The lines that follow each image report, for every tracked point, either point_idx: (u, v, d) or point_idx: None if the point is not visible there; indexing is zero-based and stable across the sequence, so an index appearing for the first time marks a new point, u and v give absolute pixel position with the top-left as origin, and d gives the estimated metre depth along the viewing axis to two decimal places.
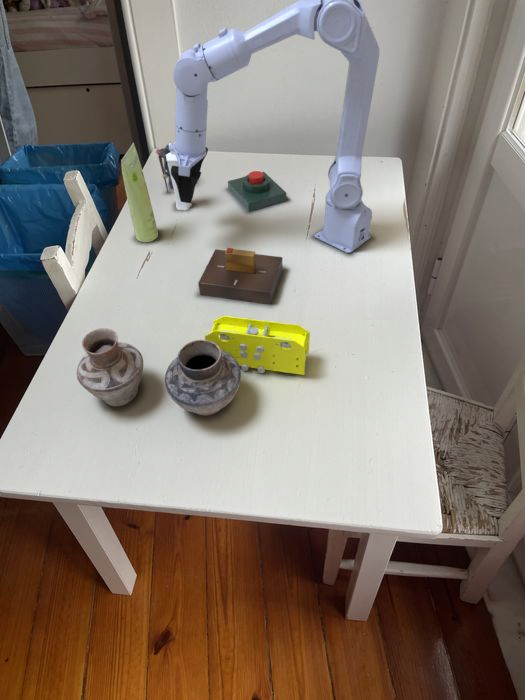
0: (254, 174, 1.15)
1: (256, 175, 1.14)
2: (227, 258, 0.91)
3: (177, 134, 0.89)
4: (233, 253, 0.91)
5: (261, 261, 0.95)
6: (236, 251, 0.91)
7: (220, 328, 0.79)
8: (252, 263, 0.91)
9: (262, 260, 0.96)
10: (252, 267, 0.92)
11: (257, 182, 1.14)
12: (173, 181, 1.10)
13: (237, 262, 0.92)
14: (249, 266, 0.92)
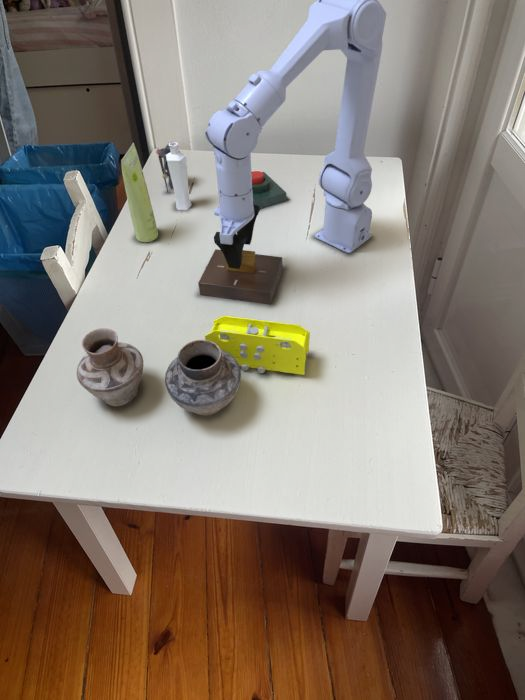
0: (254, 174, 1.15)
1: (256, 175, 1.14)
2: None
3: (220, 199, 0.81)
4: None
5: (261, 261, 0.95)
6: None
7: (220, 328, 0.80)
8: (252, 263, 0.91)
9: (262, 260, 0.96)
10: (252, 267, 0.92)
11: (257, 182, 1.14)
12: (173, 181, 1.10)
13: None
14: (249, 266, 0.92)
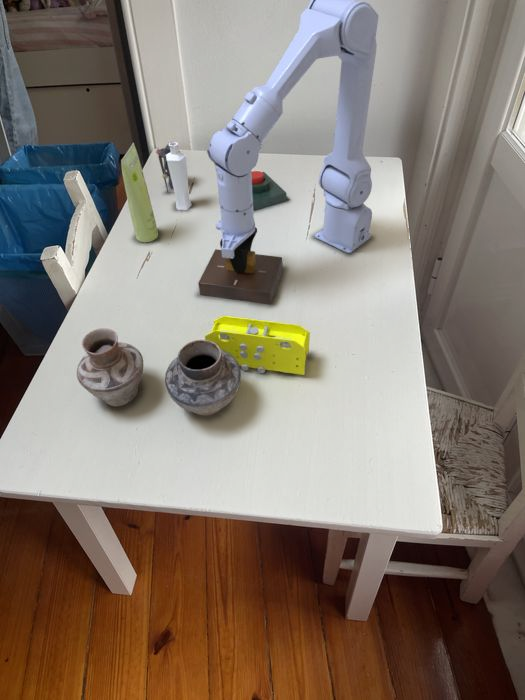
0: (254, 174, 1.15)
1: (256, 175, 1.14)
2: (227, 258, 0.91)
3: (222, 214, 0.83)
4: None
5: (261, 261, 0.95)
6: None
7: (220, 328, 0.80)
8: (252, 263, 0.91)
9: (262, 260, 0.96)
10: (252, 267, 0.92)
11: (257, 182, 1.14)
12: (173, 181, 1.10)
13: None
14: (249, 266, 0.92)
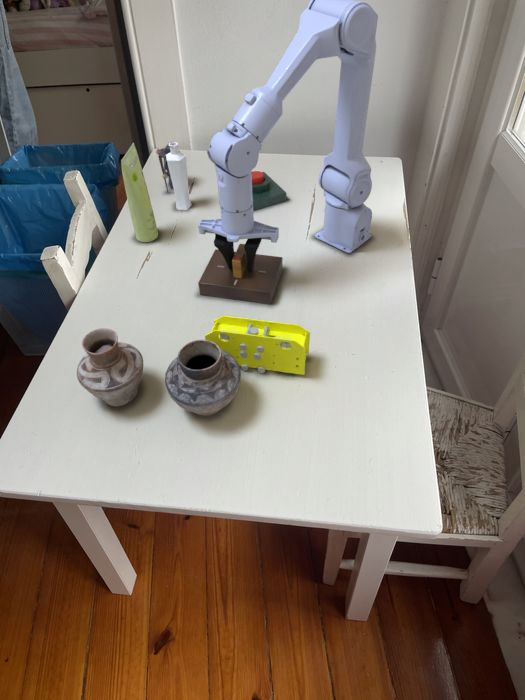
0: (254, 174, 1.15)
1: (256, 175, 1.14)
2: (241, 265, 0.90)
3: (244, 218, 0.83)
4: (241, 256, 0.90)
5: (261, 261, 0.95)
6: (238, 254, 0.90)
7: (220, 328, 0.80)
8: None
9: (262, 260, 0.96)
10: None
11: (257, 182, 1.14)
12: (173, 181, 1.10)
13: (244, 261, 0.92)
14: None
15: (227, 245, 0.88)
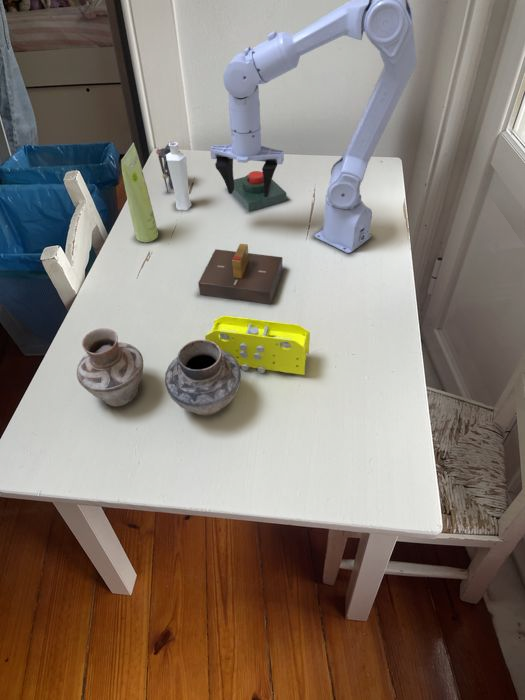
0: (254, 174, 1.15)
1: (256, 175, 1.14)
2: (241, 265, 0.90)
3: (252, 139, 0.91)
4: (241, 256, 0.90)
5: (261, 261, 0.95)
6: (238, 254, 0.90)
7: (220, 328, 0.80)
8: None
9: (262, 260, 0.96)
10: (248, 256, 0.94)
11: (257, 182, 1.14)
12: (173, 181, 1.10)
13: (244, 261, 0.92)
14: (247, 257, 0.94)
15: (227, 168, 0.97)
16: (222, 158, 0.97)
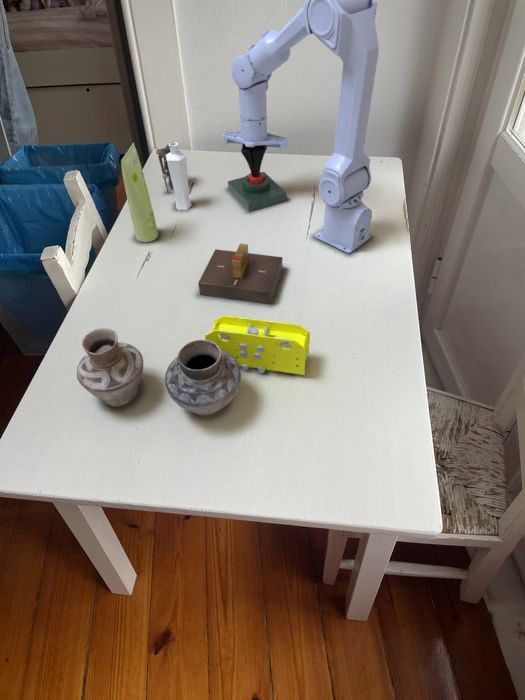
0: None
1: None
2: (241, 265, 0.90)
3: (259, 126, 1.04)
4: (241, 256, 0.90)
5: (261, 261, 0.95)
6: (238, 254, 0.90)
7: (220, 328, 0.80)
8: None
9: (262, 260, 0.96)
10: (248, 256, 0.94)
11: (257, 183, 1.14)
12: (173, 181, 1.10)
13: (244, 261, 0.92)
14: (247, 257, 0.94)
15: (252, 153, 1.09)
16: None
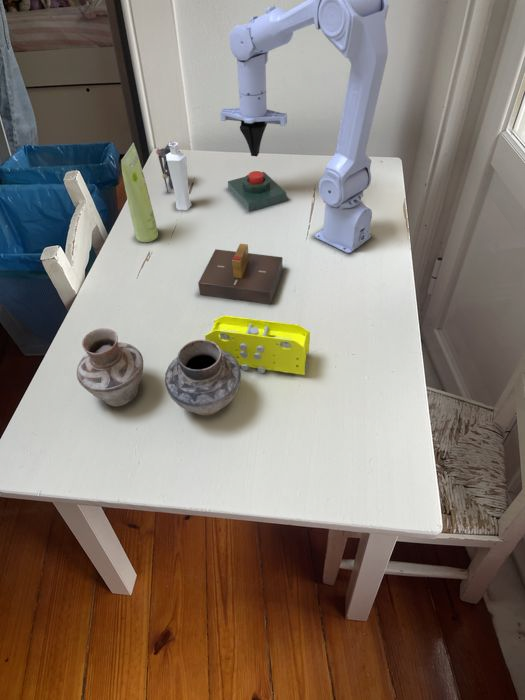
0: (254, 174, 1.15)
1: (256, 175, 1.14)
2: (241, 265, 0.90)
3: (258, 101, 1.00)
4: (241, 256, 0.90)
5: (261, 261, 0.95)
6: (238, 254, 0.90)
7: (220, 328, 0.80)
8: None
9: (262, 260, 0.96)
10: (248, 256, 0.94)
11: (257, 182, 1.14)
12: (173, 181, 1.10)
13: (244, 261, 0.92)
14: (247, 257, 0.94)
15: (251, 130, 1.06)
16: None
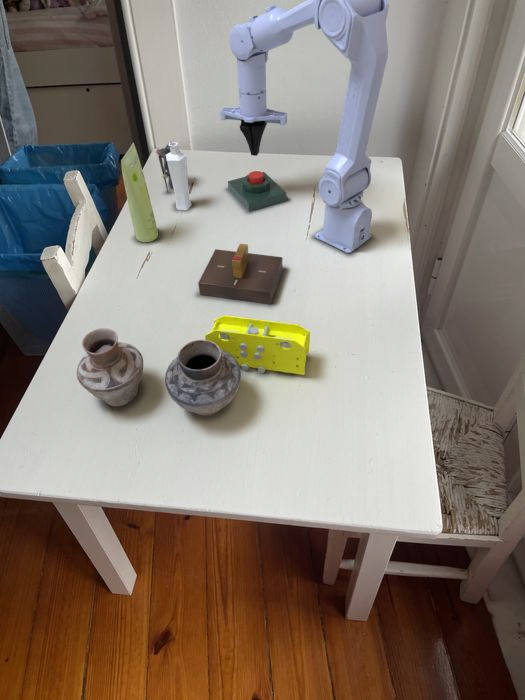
0: (254, 174, 1.15)
1: (256, 175, 1.14)
2: (241, 265, 0.90)
3: (258, 100, 1.00)
4: (241, 256, 0.90)
5: (261, 261, 0.95)
6: (238, 254, 0.90)
7: (220, 328, 0.80)
8: None
9: (262, 260, 0.96)
10: (248, 256, 0.94)
11: (257, 182, 1.14)
12: (173, 181, 1.10)
13: (244, 261, 0.92)
14: (247, 257, 0.94)
15: (250, 130, 1.05)
16: None
